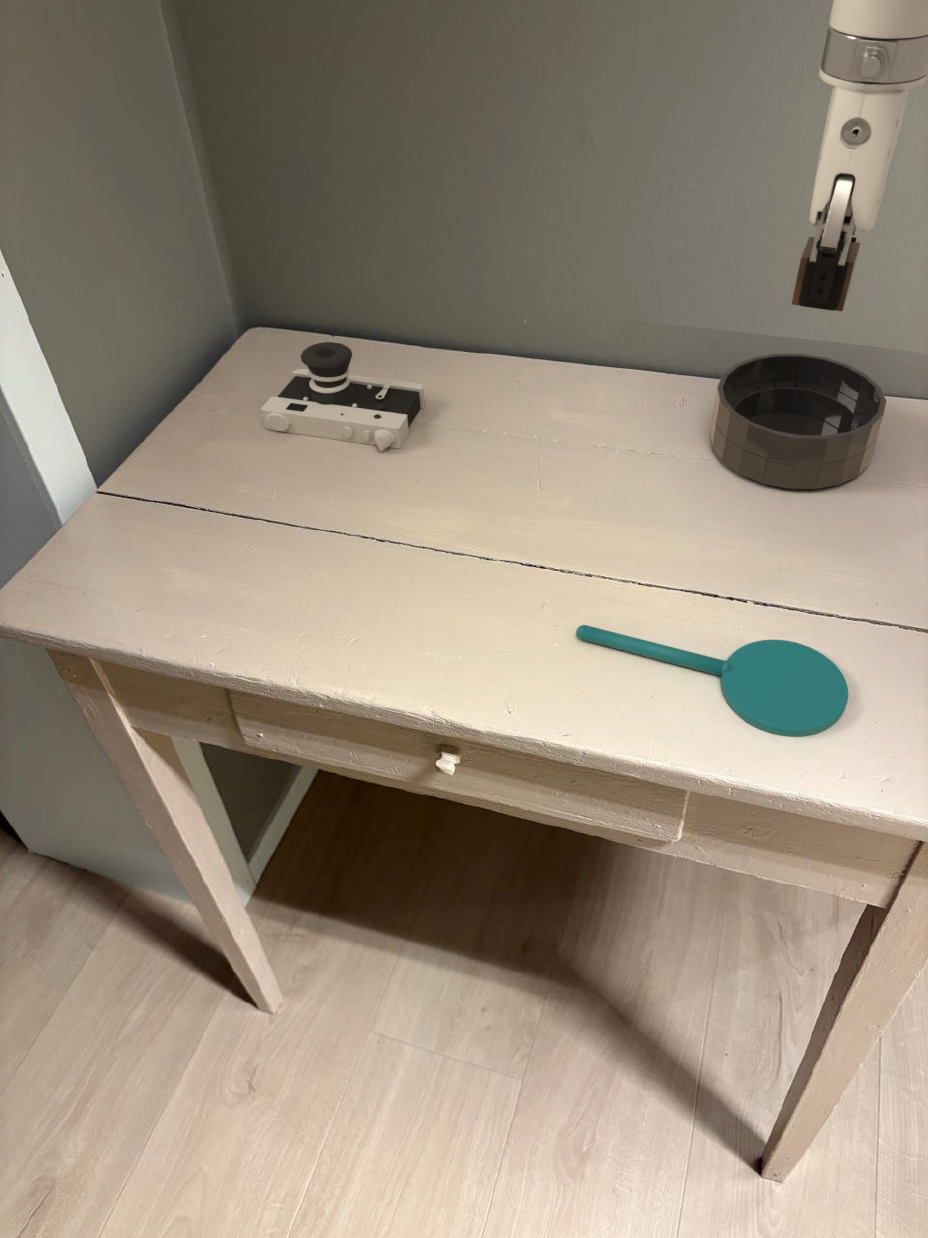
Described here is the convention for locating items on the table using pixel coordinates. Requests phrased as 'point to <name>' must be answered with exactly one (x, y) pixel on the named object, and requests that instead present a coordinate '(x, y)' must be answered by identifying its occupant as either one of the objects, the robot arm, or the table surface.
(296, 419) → the camera
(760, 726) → the teal lollipop paddle
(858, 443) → the shallow round bowl
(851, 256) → the block
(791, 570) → the table surface
